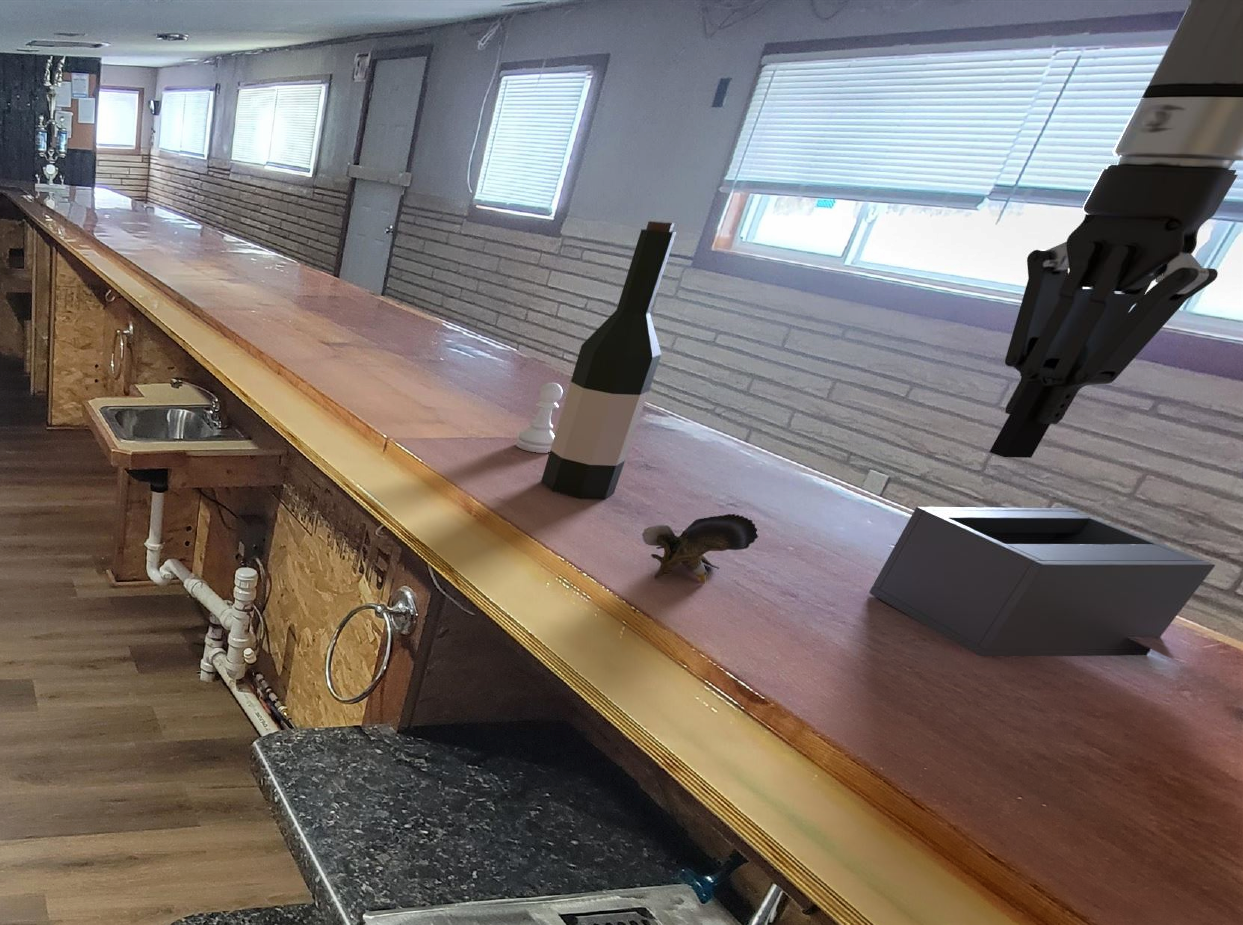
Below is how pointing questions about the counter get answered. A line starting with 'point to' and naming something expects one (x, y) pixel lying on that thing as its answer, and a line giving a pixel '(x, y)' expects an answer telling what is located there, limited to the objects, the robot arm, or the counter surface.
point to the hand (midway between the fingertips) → (1010, 454)
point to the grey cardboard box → (1036, 581)
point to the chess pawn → (541, 422)
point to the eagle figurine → (699, 542)
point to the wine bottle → (611, 381)
